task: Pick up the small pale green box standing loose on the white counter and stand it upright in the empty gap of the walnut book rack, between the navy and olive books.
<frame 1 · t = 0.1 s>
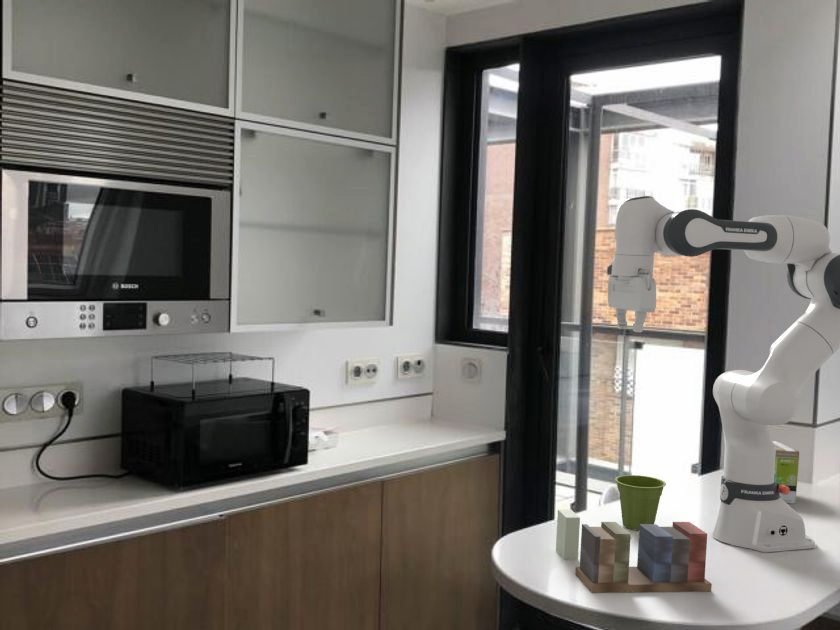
hand: (629, 330, 199), 48 cm above the countertop, fingers open, 8 cm apart
book rack: (641, 582, 175), on the countertop
plant pot: (637, 527, 213), on the countertop
pale green box: (566, 554, 190), on the countertop
tea box: (768, 497, 249), on the countertop
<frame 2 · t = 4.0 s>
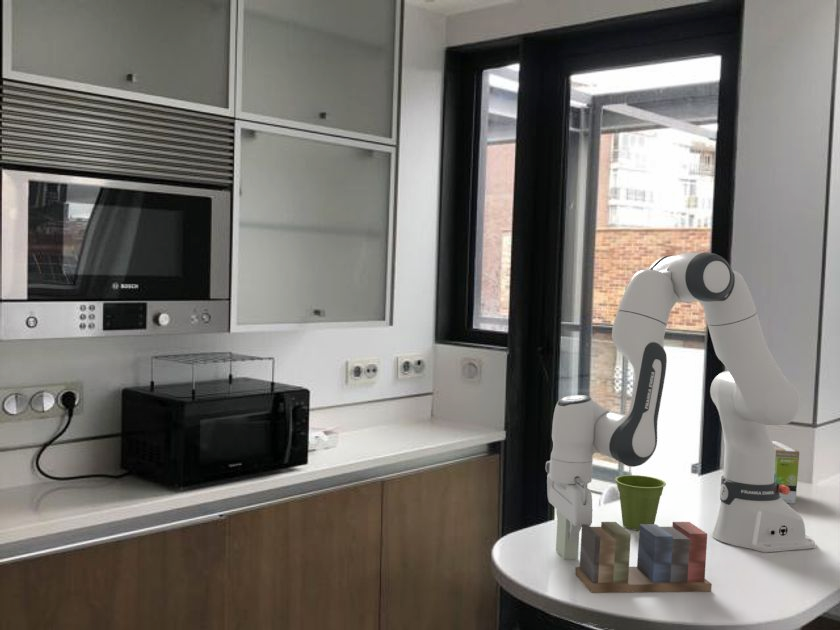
hand: (567, 535, 190), 4 cm above the countertop, fingers closed on pale green box, 6 cm apart
pale green box: (566, 554, 190), on the countertop, touching gripper
everything else where it was.
when the fingers open (7 cm above the countertop, at t = 10.7 s): pale green box drops 1 cm, resting on book rack.
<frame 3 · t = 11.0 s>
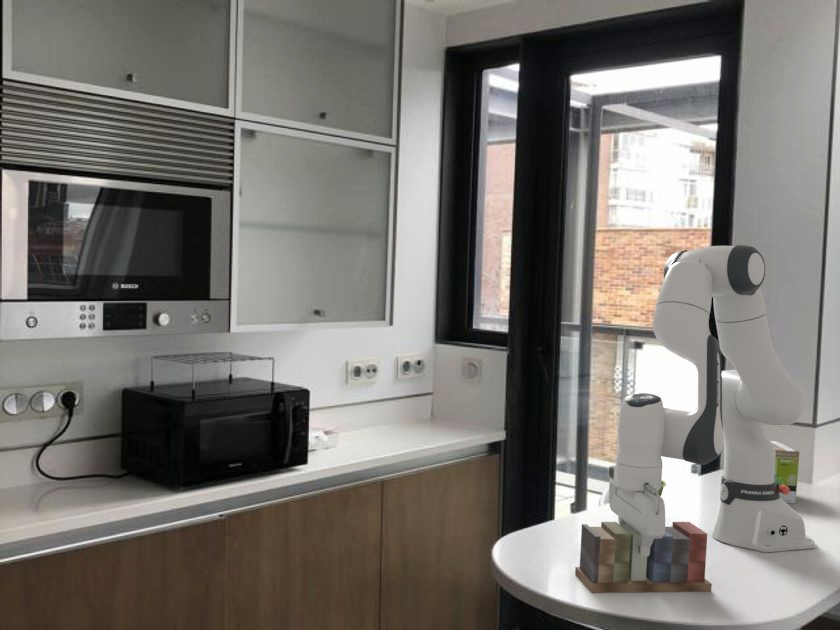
hand: (634, 547, 174), 7 cm above the countertop, fingers open, 8 cm apart
pale green box: (632, 575, 174), point 1 cm above the countertop, touching book rack
everything else where it was.
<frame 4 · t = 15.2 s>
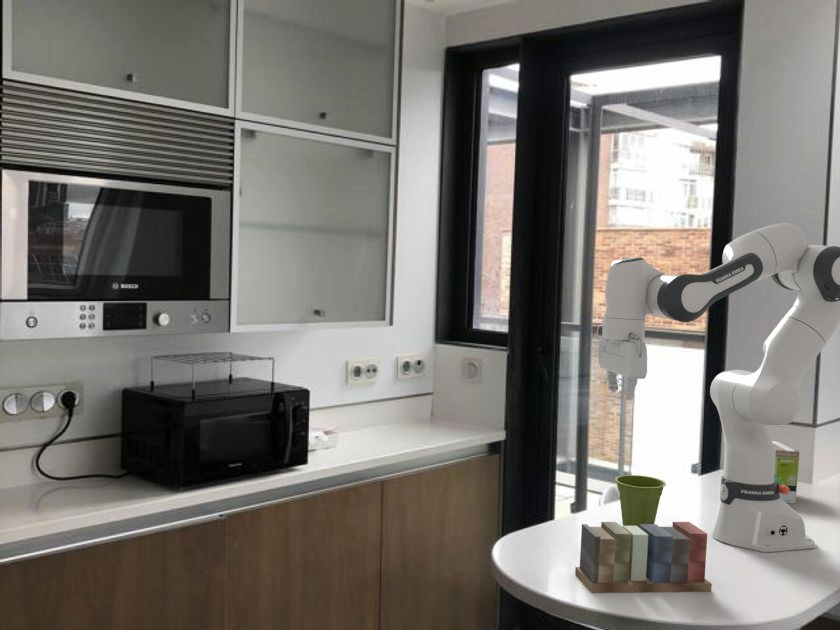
hand: (620, 394, 195), 34 cm above the countertop, fingers open, 8 cm apart
nothing on the countertop moved.
at the end: pale green box 0.0 cm from the target spot on the book rack, point 1.5 cm above the book rack's base; pale green box tilted 0°; the gripper is holding nothing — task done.
